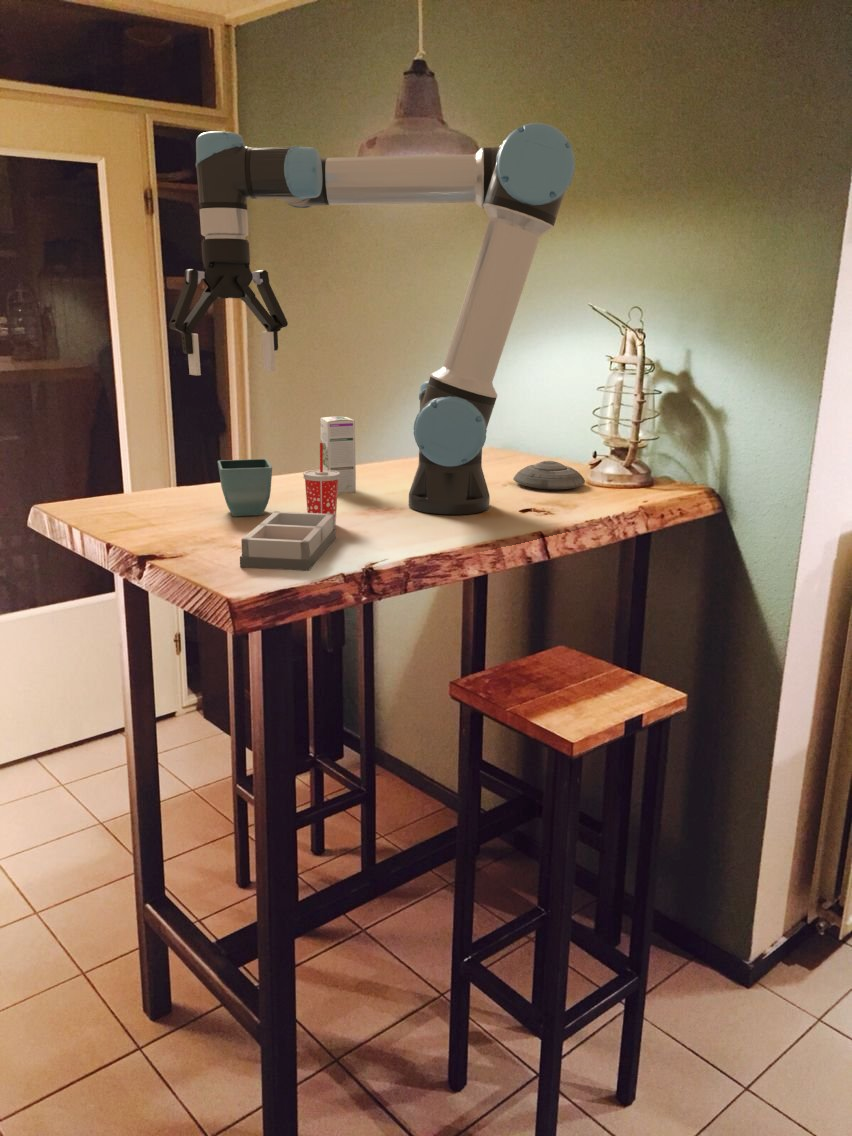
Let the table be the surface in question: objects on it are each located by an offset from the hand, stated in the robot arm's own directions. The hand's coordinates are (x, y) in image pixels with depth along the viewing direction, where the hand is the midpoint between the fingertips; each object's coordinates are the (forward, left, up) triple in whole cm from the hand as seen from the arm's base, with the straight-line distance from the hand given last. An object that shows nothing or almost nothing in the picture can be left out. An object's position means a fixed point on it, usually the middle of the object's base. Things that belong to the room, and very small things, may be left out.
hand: (233, 373), depth 156 cm
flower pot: (-1, -3, -25) cm, 25 cm away
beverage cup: (-16, +3, -25) cm, 29 cm away
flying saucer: (-55, -41, -25) cm, 73 cm away
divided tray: (-15, +21, -25) cm, 35 cm away
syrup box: (-13, -26, -25) cm, 38 cm away
